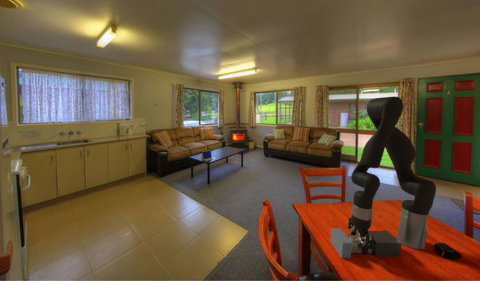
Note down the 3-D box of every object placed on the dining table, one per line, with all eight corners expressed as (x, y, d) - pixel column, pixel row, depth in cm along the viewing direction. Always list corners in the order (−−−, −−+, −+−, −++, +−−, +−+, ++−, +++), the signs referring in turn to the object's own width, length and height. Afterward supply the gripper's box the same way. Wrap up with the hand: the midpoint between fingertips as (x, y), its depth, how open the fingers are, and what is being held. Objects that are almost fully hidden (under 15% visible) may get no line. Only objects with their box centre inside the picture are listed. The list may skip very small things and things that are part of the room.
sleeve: (385, 243, 86) (387, 230, 85) (399, 256, 78) (401, 242, 77) (363, 243, 86) (365, 230, 85) (375, 256, 79) (377, 242, 78)
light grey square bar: (371, 244, 85) (372, 233, 84) (380, 253, 80) (382, 242, 79) (335, 243, 86) (336, 233, 85) (342, 253, 80) (343, 242, 79)
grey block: (338, 241, 88) (339, 228, 87) (350, 258, 78) (352, 243, 77) (330, 241, 88) (331, 228, 87) (341, 258, 78) (342, 243, 77)
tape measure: (461, 261, 76) (463, 253, 75) (444, 260, 76) (446, 253, 76) (444, 249, 83) (445, 241, 82) (428, 248, 83) (430, 241, 82)
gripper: (344, 206, 87) (341, 235, 90) (363, 224, 73) (359, 258, 76) (359, 206, 87) (357, 235, 90) (382, 224, 73) (377, 259, 75)
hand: (358, 246), depth 83 cm, fingers open, 8 cm apart
